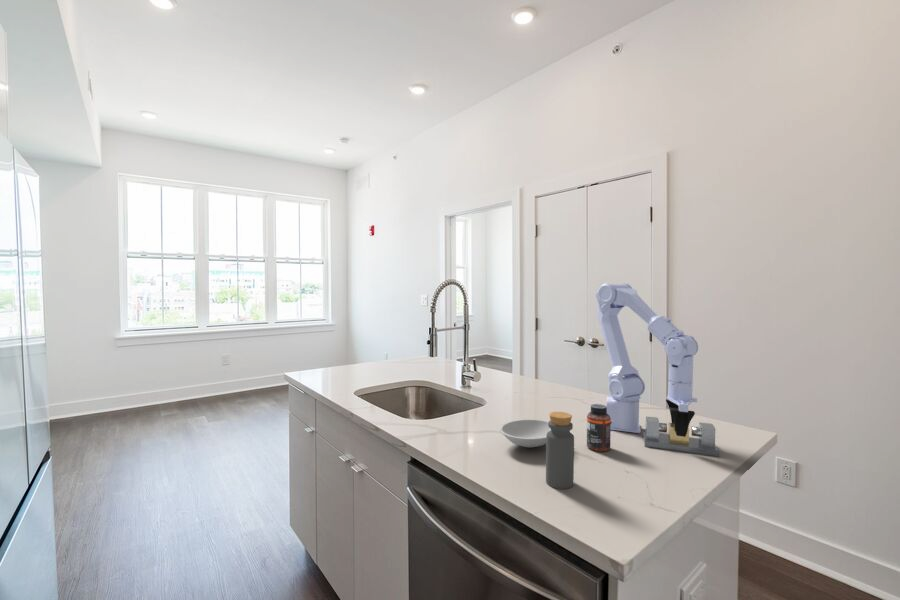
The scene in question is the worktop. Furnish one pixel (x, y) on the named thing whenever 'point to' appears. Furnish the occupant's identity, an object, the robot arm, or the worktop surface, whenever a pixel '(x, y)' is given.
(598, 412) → the supplement bottle
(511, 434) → the dish
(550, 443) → the bottle
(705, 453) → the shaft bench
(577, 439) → the worktop surface
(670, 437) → the block
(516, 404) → the worktop surface
